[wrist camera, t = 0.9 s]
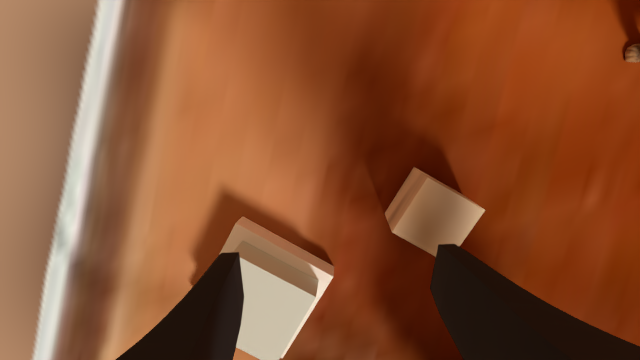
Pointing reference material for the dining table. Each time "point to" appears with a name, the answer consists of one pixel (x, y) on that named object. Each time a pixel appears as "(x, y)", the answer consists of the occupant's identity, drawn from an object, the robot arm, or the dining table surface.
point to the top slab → (271, 302)
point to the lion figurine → (633, 53)
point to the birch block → (431, 213)
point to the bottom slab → (281, 257)
